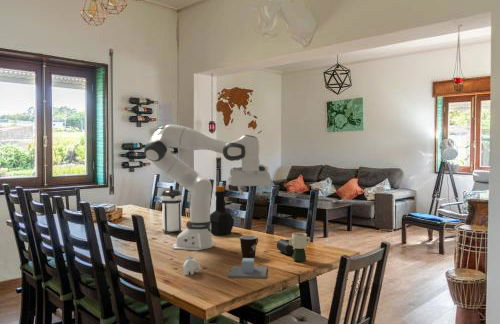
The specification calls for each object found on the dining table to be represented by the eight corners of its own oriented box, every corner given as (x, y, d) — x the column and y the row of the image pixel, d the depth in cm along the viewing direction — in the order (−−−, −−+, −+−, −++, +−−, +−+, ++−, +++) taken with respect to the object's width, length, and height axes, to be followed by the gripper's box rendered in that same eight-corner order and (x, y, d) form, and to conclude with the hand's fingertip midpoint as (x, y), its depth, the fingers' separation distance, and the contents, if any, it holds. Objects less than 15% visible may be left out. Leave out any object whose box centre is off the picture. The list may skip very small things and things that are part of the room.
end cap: (276, 252, 219) (276, 239, 219) (288, 250, 222) (288, 237, 222) (286, 256, 210) (286, 243, 210) (298, 255, 213) (298, 241, 213)
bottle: (217, 237, 254) (216, 188, 252) (203, 233, 266) (202, 186, 265) (238, 233, 263) (238, 186, 262) (223, 229, 276) (223, 184, 275)
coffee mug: (244, 260, 204) (244, 240, 204) (237, 256, 212) (236, 236, 212) (265, 257, 210) (265, 237, 209) (257, 253, 217) (257, 234, 217)
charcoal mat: (228, 277, 179) (228, 275, 179) (232, 267, 193) (232, 265, 193) (265, 278, 177) (265, 276, 177) (267, 268, 191) (267, 266, 191)
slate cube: (241, 272, 183) (241, 261, 182) (243, 269, 188) (242, 258, 187) (253, 272, 182) (253, 261, 182) (254, 269, 187) (254, 258, 187)
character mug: (306, 257, 208) (306, 231, 207) (313, 261, 201) (312, 234, 200) (286, 259, 205) (286, 233, 204) (291, 263, 198) (291, 236, 197)
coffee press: (189, 230, 274) (189, 185, 273) (172, 235, 261) (172, 187, 259) (170, 228, 283) (169, 183, 282) (152, 232, 270) (151, 186, 268)
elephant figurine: (203, 275, 183) (203, 258, 182) (181, 276, 181) (180, 260, 180) (201, 269, 190) (201, 254, 190) (180, 271, 188) (179, 255, 188)
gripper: (229, 167, 208) (229, 195, 208) (270, 167, 206) (270, 195, 206) (230, 167, 214) (231, 194, 214) (270, 166, 212) (271, 194, 213)
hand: (250, 194), depth 210 cm, fingers open, 8 cm apart
